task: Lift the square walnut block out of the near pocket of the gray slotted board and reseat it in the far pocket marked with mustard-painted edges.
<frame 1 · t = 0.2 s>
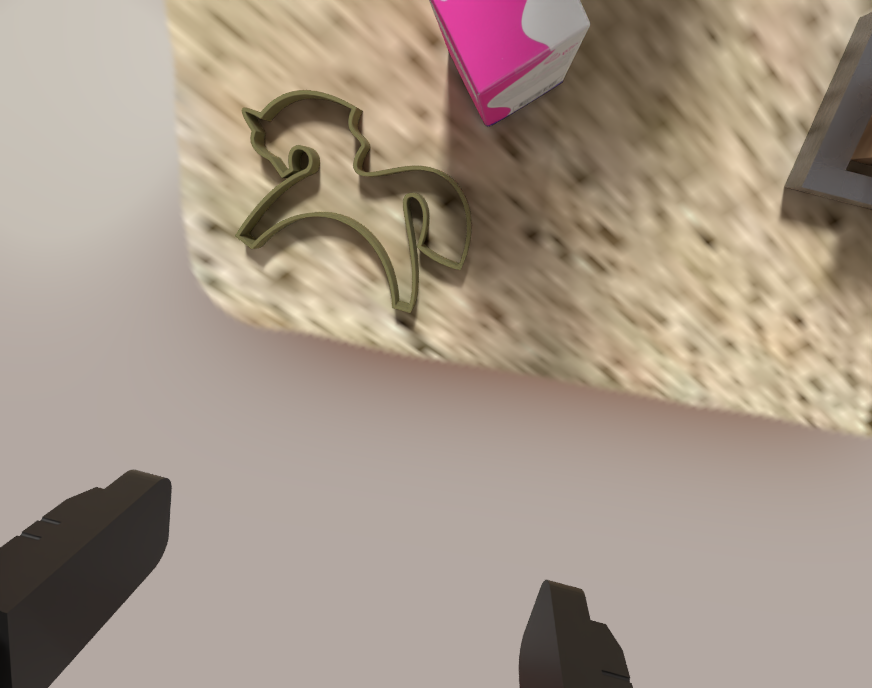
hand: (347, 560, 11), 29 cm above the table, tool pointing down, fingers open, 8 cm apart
supplement box: (504, 64, 33), on the table
cookie cutter: (357, 201, 37), on the table
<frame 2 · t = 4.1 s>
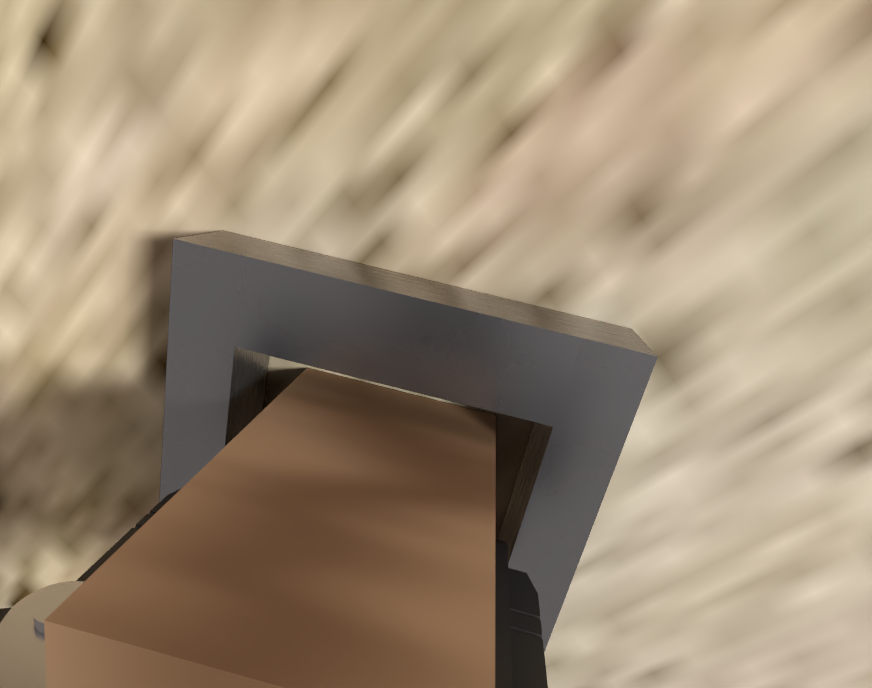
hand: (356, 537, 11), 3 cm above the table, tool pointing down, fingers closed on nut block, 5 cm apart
gray slotted board: (344, 650, 16), on the table
nut block: (382, 473, 14), resting in gray slotted board, touching gripper
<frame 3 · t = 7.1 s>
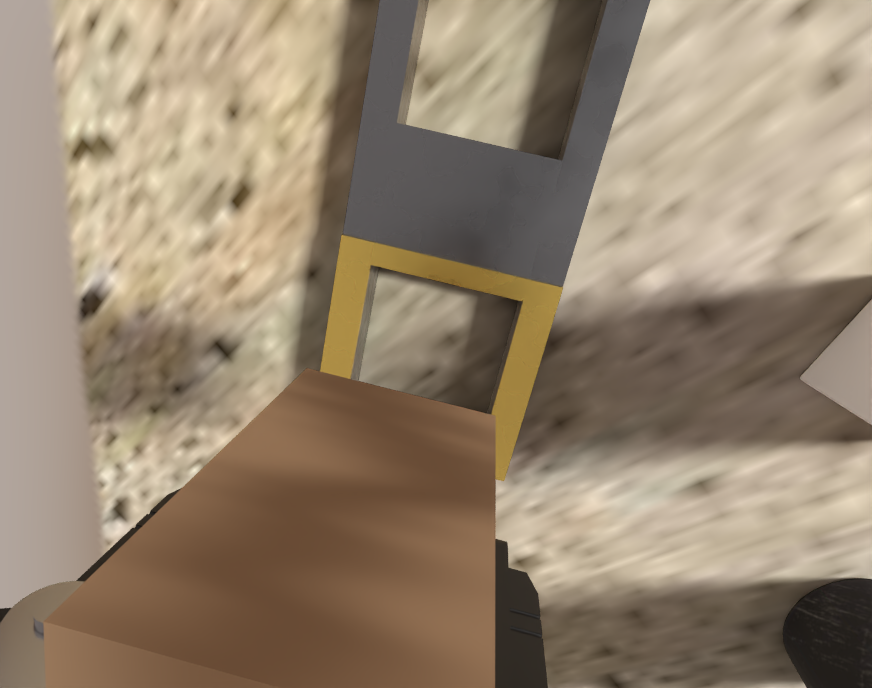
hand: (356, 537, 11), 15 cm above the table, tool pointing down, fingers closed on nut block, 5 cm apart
gray slotted board: (464, 212, 24), on the table
nut block: (382, 474, 14), point 13 cm above the table, touching gripper
travel mug: (849, 627, 28), on the table
when the fingers open (4 cm above the table, at t = 9.9 s): nut block drops 1 cm, resting in gray slotted board.
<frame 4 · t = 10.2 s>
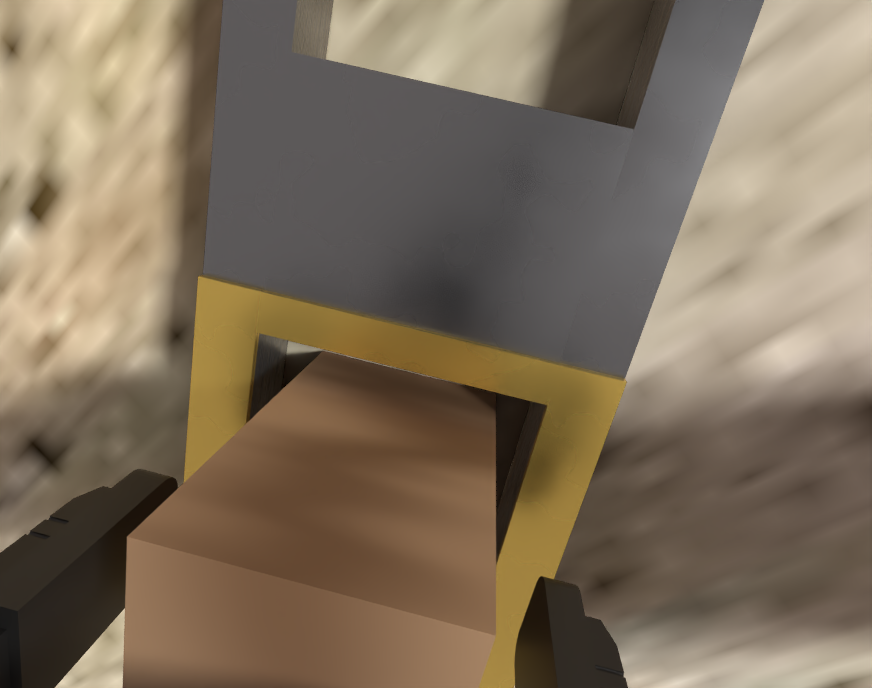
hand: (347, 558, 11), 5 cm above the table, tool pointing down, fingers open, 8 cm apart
gray slotted board: (438, 231, 13), on the table
nut block: (392, 448, 15), resting in gray slotted board
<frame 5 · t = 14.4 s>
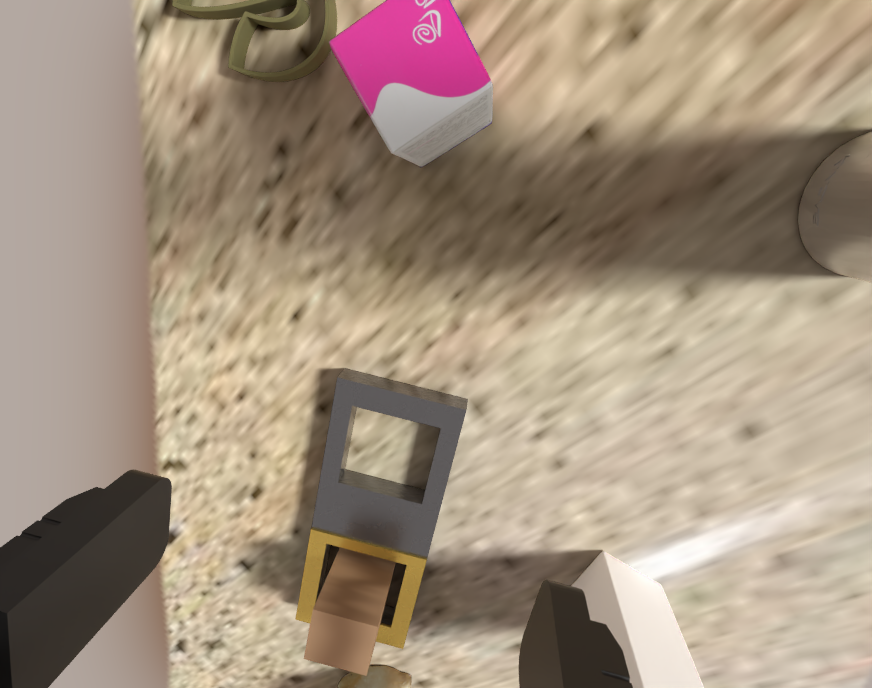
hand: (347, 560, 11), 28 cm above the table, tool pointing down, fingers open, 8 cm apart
supplement box: (436, 106, 34), on the table
chocolate bunny: (372, 681, 50), on the table
gray slotted board: (378, 508, 44), on the table
nut block: (366, 567, 46), resting in gray slotted board
milk: (610, 588, 44), on the table
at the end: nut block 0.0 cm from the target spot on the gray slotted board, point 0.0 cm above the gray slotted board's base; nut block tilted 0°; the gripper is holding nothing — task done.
